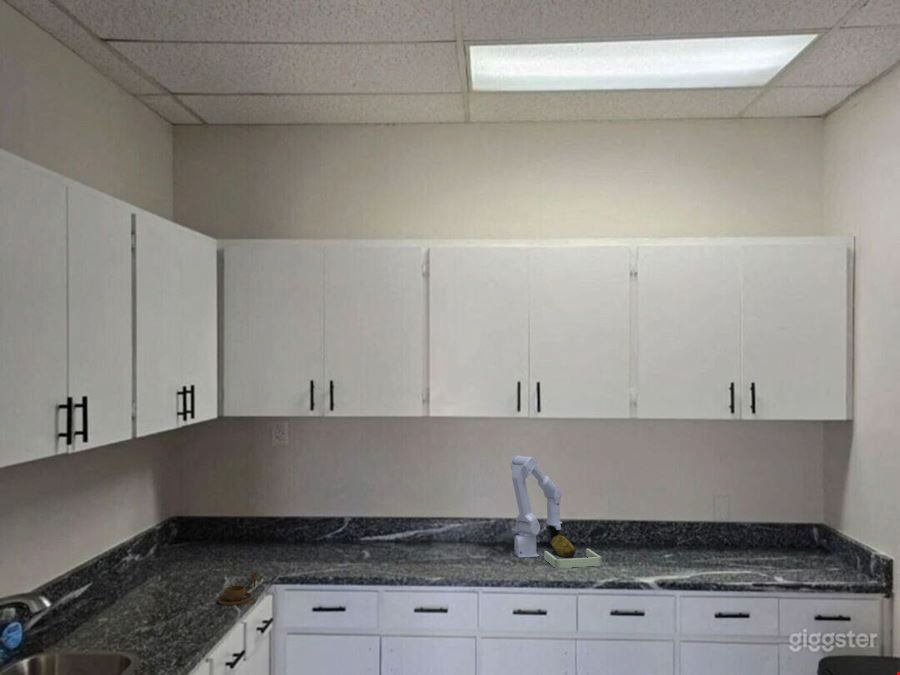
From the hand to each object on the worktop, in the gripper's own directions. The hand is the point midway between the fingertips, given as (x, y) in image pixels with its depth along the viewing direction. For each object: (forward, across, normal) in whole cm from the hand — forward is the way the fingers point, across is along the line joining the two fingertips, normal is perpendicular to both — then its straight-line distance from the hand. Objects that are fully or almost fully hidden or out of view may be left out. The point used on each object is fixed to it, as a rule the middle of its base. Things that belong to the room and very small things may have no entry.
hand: (553, 542), depth 321 cm
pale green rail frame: (+3, -24, 0) cm, 24 cm away
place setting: (+3, -44, +133) cm, 140 cm away
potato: (+3, -12, 0) cm, 12 cm away
